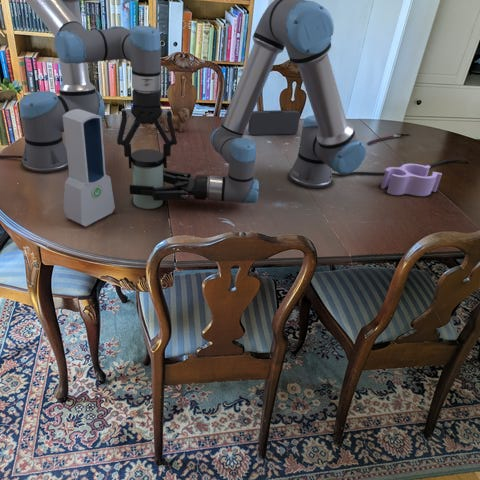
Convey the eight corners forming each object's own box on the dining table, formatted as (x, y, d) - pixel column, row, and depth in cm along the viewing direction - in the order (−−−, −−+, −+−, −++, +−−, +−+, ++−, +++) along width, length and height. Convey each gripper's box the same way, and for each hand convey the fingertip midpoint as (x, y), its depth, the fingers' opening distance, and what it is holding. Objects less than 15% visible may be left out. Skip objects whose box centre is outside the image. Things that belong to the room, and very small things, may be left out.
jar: (129, 197, 145) (127, 153, 137) (156, 193, 149) (156, 150, 141) (139, 210, 139) (137, 165, 131) (167, 206, 143) (167, 161, 135)
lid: (142, 170, 131) (142, 164, 130) (124, 158, 137) (124, 152, 136) (170, 163, 137) (170, 157, 136) (152, 152, 142) (152, 146, 141)
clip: (394, 198, 162) (399, 180, 158) (374, 182, 171) (379, 165, 168) (440, 194, 168) (447, 177, 164) (419, 179, 178) (424, 162, 174)
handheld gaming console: (295, 131, 210) (298, 109, 204) (297, 134, 208) (301, 111, 202) (247, 133, 203) (249, 110, 197) (249, 135, 201) (251, 112, 195)
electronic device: (82, 228, 128) (71, 122, 112) (63, 219, 131) (50, 114, 115) (115, 211, 137) (109, 111, 121) (97, 203, 140) (89, 104, 124)
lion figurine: (187, 126, 202) (187, 106, 197) (190, 131, 198) (191, 110, 193) (153, 128, 197) (153, 107, 193) (156, 132, 193) (155, 111, 188)
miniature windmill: (99, 133, 186) (93, 55, 170) (79, 130, 187) (71, 51, 171) (109, 126, 194) (104, 50, 178) (90, 123, 195) (83, 47, 179)
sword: (406, 132, 223) (406, 130, 222) (411, 134, 221) (412, 132, 220) (362, 144, 207) (363, 141, 206) (368, 146, 205) (368, 143, 204)
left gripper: (103, 92, 120) (109, 172, 132) (189, 94, 125) (186, 171, 137) (104, 84, 126) (109, 161, 138) (185, 87, 131) (183, 160, 143)
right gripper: (205, 216, 135) (126, 210, 133) (208, 183, 153) (139, 178, 152) (206, 193, 131) (125, 187, 129) (209, 162, 149) (138, 156, 147)
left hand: (147, 166), depth 138 cm, fingers closed on lid, 9 cm apart
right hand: (132, 182), depth 140 cm, fingers closed on jar, 9 cm apart
